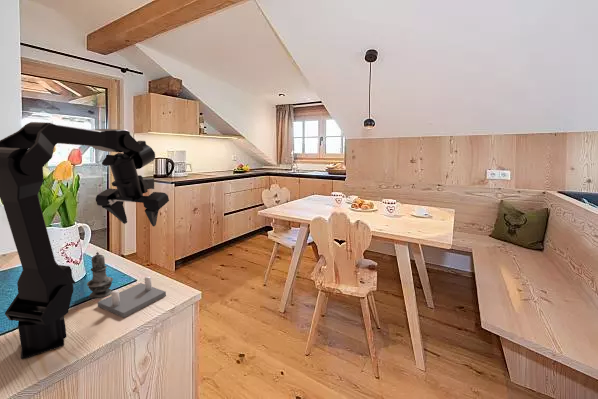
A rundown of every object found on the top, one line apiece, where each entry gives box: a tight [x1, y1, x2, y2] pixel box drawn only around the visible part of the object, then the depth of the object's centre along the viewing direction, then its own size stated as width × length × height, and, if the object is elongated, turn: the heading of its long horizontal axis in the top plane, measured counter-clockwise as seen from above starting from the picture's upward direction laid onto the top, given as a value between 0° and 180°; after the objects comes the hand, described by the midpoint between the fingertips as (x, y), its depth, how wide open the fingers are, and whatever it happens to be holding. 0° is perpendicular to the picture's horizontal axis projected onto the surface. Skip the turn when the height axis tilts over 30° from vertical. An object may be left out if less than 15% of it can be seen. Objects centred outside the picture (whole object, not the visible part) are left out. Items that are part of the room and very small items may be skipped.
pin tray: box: [97, 275, 167, 318], centre depth 78 cm, size 12×10×5 cm
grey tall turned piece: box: [86, 251, 114, 300], centre depth 80 cm, size 6×6×12 cm
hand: (139, 224), depth 88 cm, fingers open, 9 cm apart
